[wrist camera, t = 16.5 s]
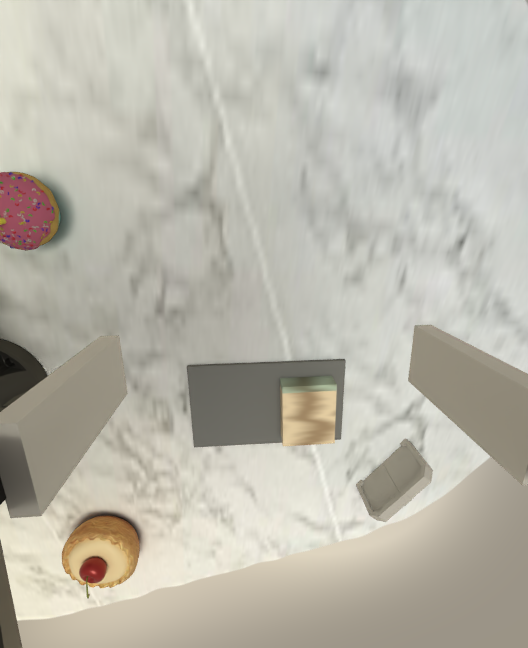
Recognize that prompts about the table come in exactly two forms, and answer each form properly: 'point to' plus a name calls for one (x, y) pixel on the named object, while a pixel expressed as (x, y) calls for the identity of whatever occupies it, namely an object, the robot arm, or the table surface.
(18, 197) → the cupcake
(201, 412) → the mat
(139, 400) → the table surface
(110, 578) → the pastry
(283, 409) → the tan and green block
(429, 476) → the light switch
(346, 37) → the table surface
